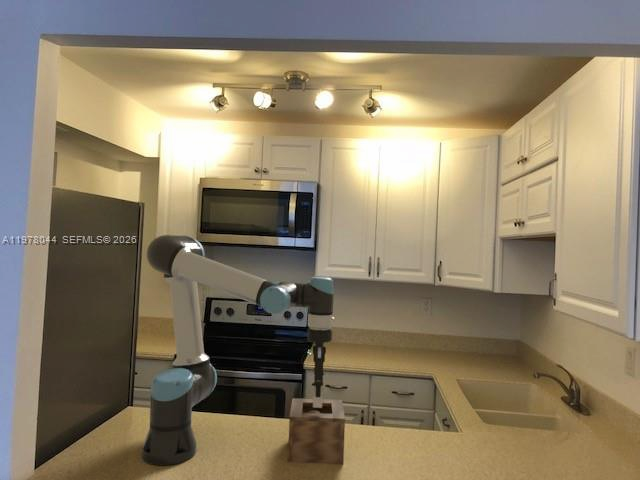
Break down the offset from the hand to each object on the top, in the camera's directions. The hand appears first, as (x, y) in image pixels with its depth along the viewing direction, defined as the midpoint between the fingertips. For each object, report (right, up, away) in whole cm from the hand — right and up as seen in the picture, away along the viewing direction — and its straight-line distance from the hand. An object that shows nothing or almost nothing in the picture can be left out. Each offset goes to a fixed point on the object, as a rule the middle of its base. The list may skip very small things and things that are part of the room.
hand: (317, 401), depth 139 cm
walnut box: (-1, -15, 0) cm, 15 cm away
